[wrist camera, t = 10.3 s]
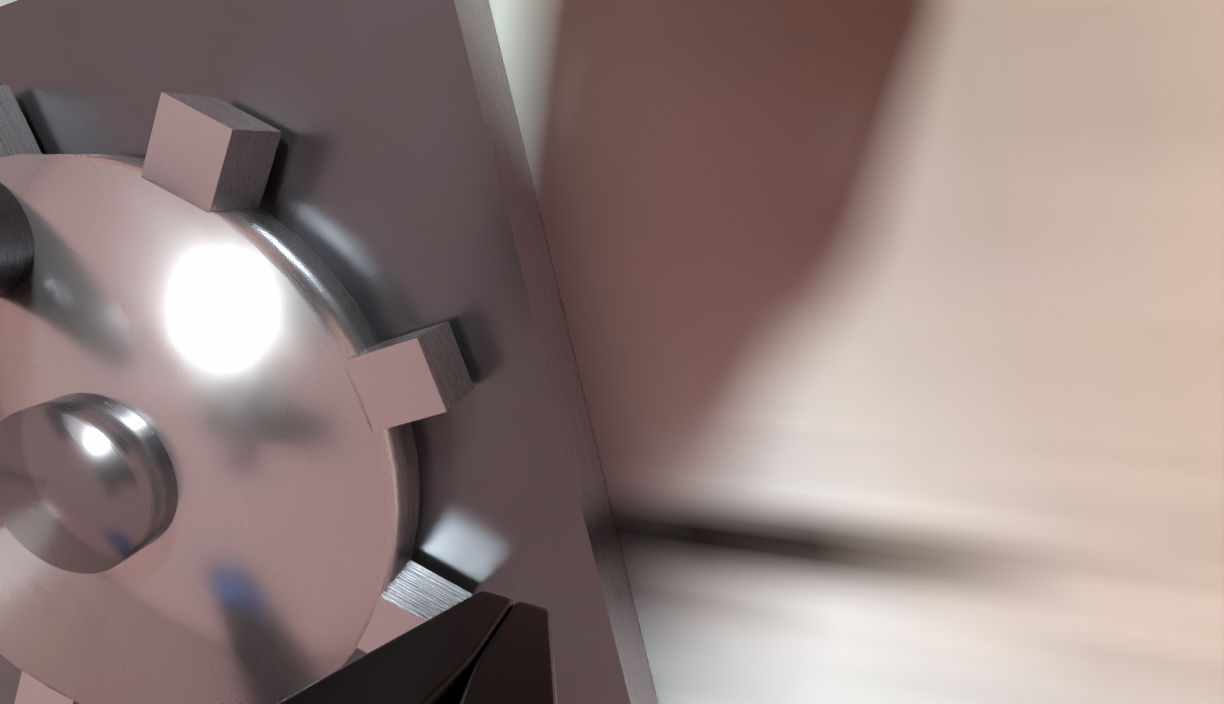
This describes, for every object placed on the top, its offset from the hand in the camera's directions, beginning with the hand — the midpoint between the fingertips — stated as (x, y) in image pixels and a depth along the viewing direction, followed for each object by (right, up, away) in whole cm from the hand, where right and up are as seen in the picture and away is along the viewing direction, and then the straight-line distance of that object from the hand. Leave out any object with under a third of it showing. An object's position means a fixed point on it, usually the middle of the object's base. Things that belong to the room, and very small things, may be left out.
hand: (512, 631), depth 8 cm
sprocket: (-12, +1, +12) cm, 17 cm away
